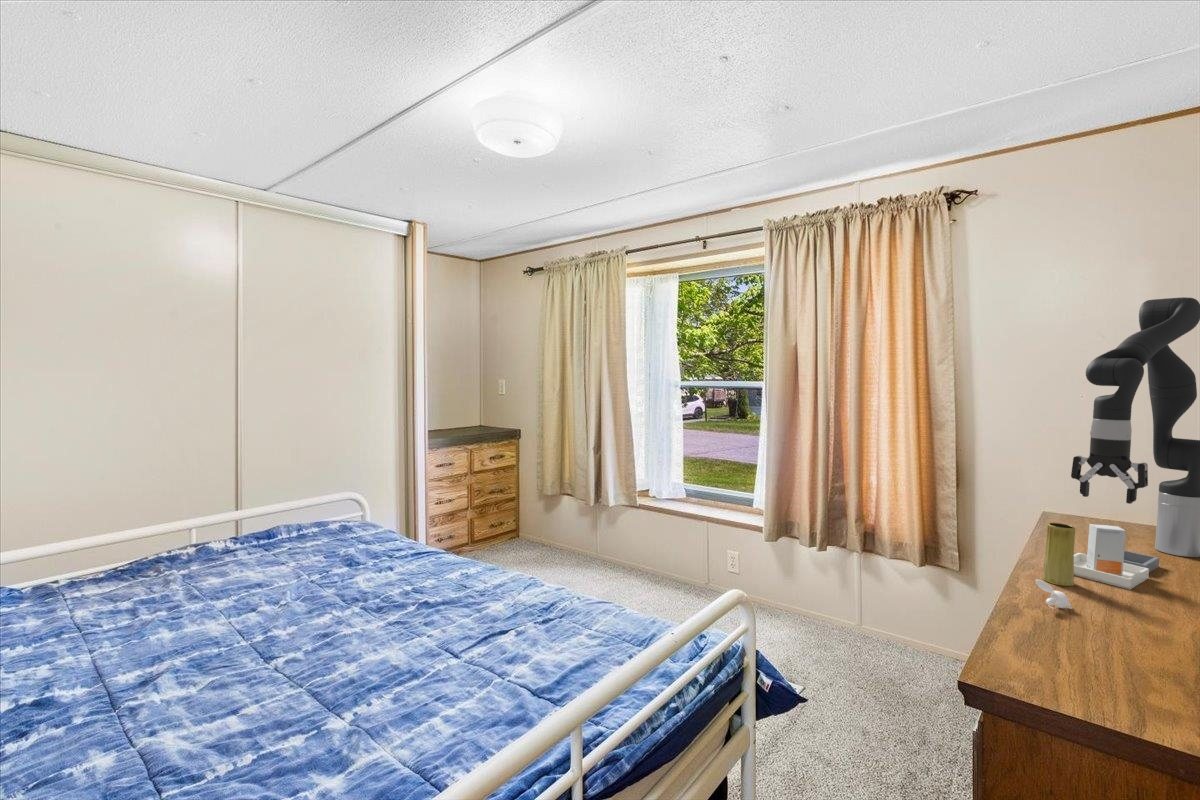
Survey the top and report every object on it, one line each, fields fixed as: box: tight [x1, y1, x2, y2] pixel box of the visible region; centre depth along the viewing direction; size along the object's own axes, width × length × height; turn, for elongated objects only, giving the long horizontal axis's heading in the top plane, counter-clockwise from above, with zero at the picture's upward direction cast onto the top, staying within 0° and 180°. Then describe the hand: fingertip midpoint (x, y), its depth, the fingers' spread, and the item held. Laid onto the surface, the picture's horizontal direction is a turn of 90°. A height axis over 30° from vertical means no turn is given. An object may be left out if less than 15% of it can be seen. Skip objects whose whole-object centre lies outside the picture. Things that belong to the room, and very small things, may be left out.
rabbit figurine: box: [1035, 579, 1073, 610], centre depth 120 cm, size 6×4×8 cm
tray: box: [1074, 552, 1150, 590], centre depth 140 cm, size 14×14×2 cm
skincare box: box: [1086, 523, 1127, 577], centre depth 140 cm, size 6×4×12 cm
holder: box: [1123, 549, 1160, 573], centre depth 148 cm, size 12×12×2 cm
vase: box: [1041, 522, 1076, 587], centre depth 135 cm, size 6×6×14 cm
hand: (1106, 499), depth 139 cm, fingers open, 8 cm apart
